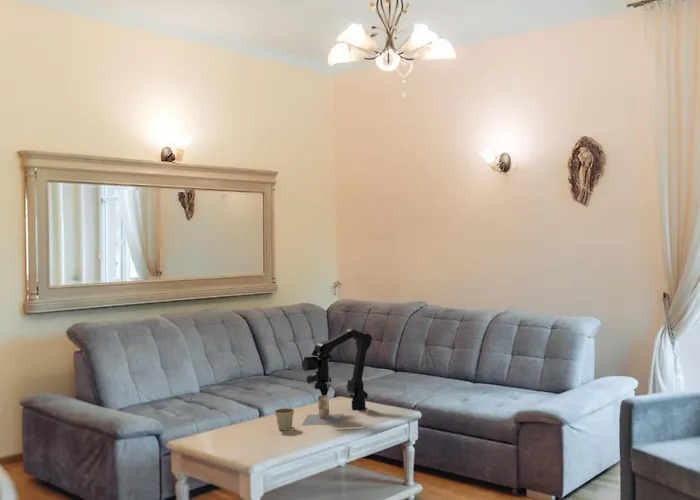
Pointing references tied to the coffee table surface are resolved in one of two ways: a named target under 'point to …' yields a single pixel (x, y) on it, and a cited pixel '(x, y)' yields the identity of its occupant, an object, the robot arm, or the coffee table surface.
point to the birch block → (323, 406)
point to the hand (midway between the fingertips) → (324, 399)
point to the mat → (323, 420)
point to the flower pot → (284, 418)
